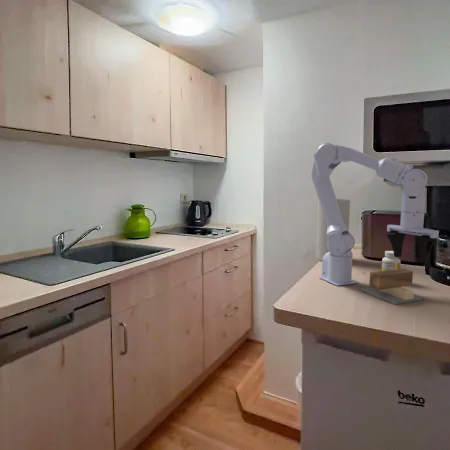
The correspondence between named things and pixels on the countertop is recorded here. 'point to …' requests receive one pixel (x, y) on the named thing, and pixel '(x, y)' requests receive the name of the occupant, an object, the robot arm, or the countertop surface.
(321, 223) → the cylinder vase
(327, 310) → the countertop surface
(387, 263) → the supplement bottle
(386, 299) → the board
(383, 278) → the walnut bar
